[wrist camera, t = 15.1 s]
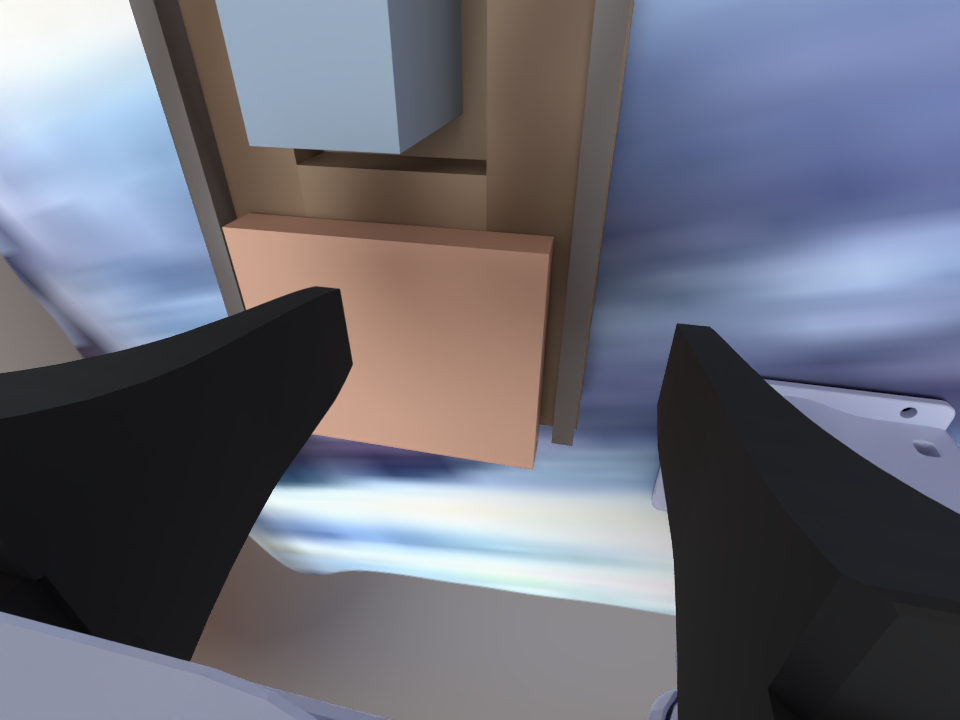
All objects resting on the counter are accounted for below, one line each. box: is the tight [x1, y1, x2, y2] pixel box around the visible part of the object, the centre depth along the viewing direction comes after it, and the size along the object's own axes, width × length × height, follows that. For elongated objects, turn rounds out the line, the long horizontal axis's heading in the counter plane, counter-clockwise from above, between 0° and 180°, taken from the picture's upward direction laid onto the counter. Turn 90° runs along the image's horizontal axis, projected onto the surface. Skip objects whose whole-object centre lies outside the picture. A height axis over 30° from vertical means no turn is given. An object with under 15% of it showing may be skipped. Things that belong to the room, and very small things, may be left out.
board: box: [129, 0, 634, 446], centre depth 17 cm, size 14×20×4 cm
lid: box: [222, 213, 554, 470], centre depth 19 cm, size 11×9×2 cm
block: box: [215, 0, 463, 154], centre depth 14 cm, size 4×4×6 cm
